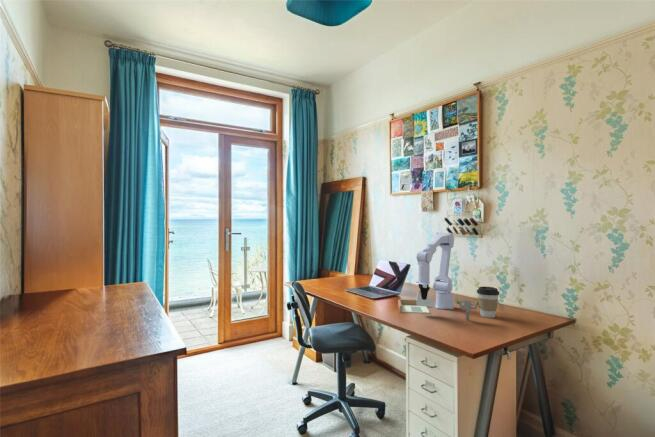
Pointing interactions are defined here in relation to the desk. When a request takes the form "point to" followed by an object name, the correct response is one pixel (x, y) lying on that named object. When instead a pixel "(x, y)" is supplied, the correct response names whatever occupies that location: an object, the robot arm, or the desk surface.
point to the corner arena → (411, 306)
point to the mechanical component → (467, 306)
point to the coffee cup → (488, 301)
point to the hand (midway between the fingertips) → (423, 298)
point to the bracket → (424, 301)
